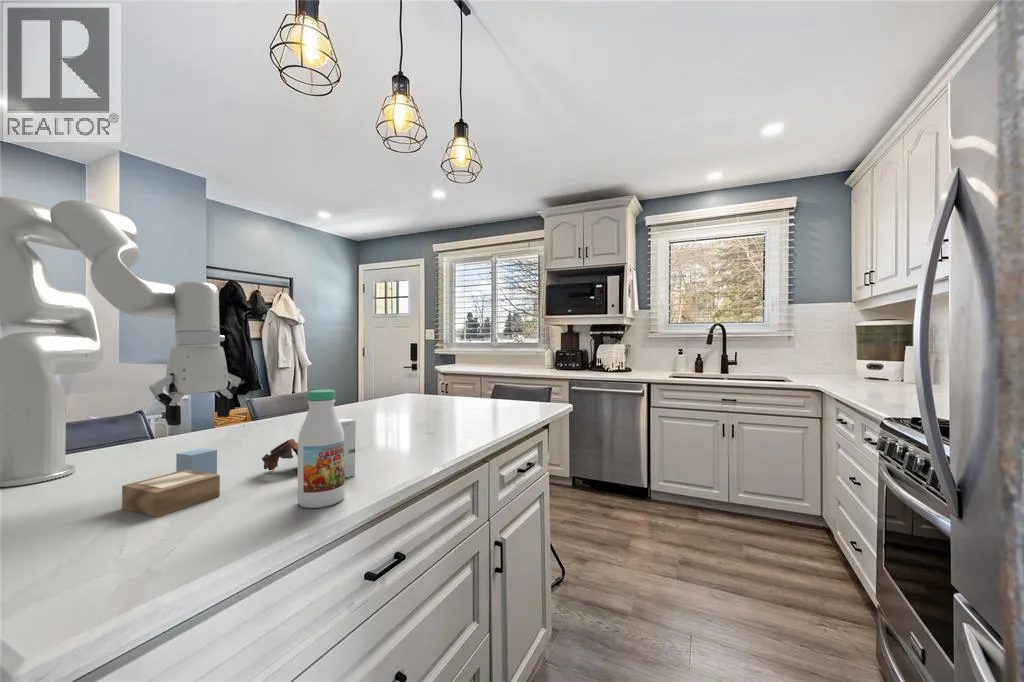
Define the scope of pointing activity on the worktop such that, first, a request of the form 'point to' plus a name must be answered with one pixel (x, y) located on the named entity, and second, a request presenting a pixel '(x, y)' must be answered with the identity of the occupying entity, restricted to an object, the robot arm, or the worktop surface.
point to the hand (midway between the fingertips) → (199, 420)
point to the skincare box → (349, 445)
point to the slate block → (197, 460)
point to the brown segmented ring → (280, 454)
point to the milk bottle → (321, 453)
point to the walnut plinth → (170, 492)
